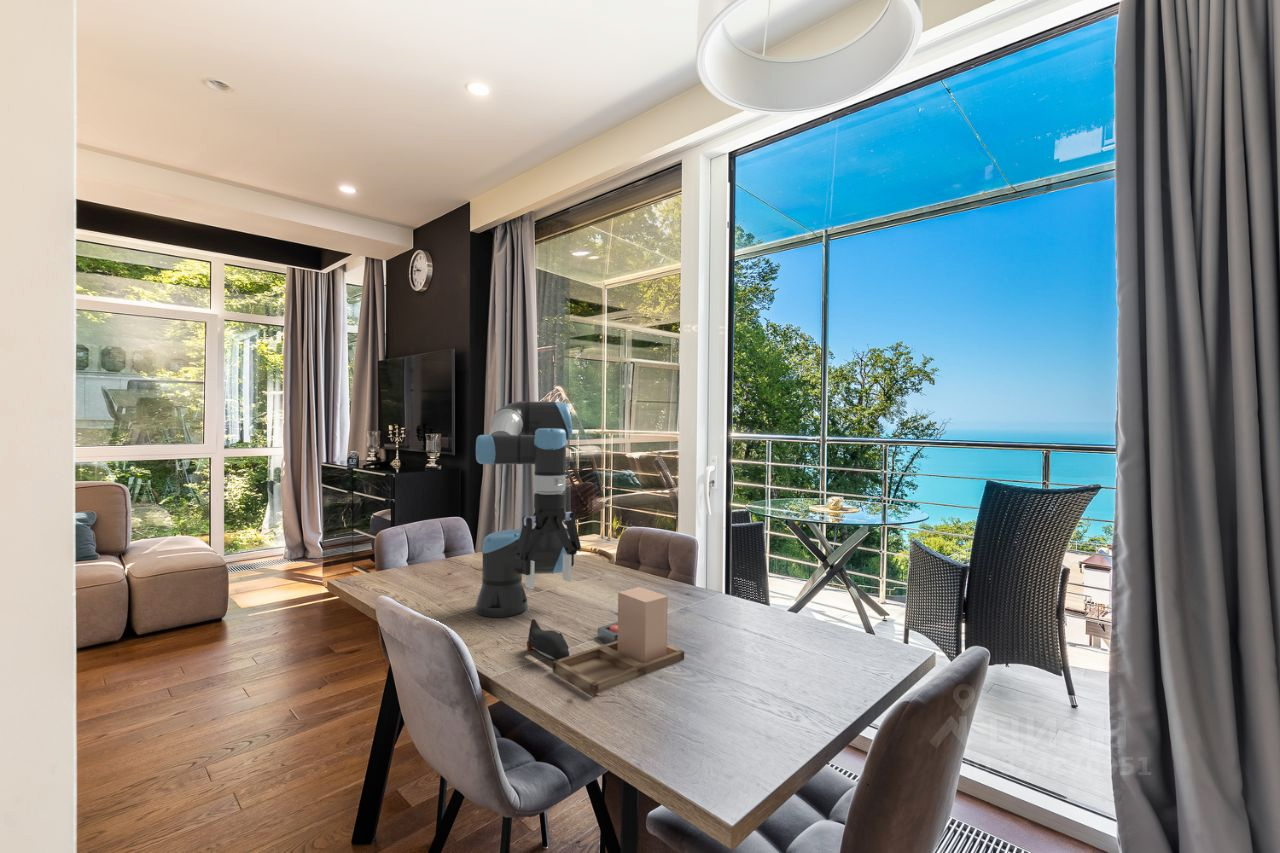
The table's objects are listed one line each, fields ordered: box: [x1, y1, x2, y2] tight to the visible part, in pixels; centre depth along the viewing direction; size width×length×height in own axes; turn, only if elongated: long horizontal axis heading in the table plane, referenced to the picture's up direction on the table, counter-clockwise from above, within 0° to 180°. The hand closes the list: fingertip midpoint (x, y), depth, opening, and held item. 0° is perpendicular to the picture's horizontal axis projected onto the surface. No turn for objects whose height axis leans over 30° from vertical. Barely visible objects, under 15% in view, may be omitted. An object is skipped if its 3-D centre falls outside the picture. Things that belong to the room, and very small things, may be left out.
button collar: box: [597, 621, 618, 643], centre depth 151 cm, size 7×7×3 cm
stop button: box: [610, 625, 618, 633], centre depth 151 cm, size 4×4×3 cm
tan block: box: [617, 586, 669, 664], centre depth 139 cm, size 10×7×15 cm
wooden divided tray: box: [552, 641, 685, 698], centre depth 135 cm, size 15×27×3 cm, turn 132°
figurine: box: [526, 618, 570, 660], centre depth 140 cm, size 7×10×15 cm
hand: (548, 583), depth 140 cm, fingers open, 10 cm apart
